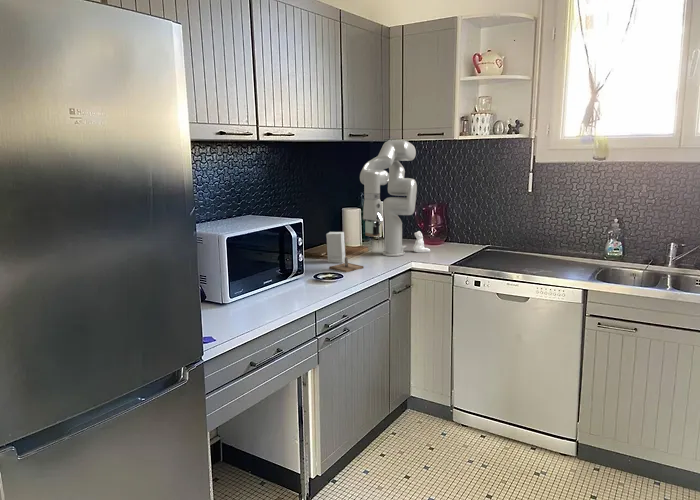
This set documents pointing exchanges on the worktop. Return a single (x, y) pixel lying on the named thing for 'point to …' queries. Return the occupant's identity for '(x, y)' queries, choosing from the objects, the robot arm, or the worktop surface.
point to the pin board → (346, 266)
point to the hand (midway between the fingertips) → (372, 233)
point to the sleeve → (370, 228)
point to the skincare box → (335, 247)
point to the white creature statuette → (420, 244)
